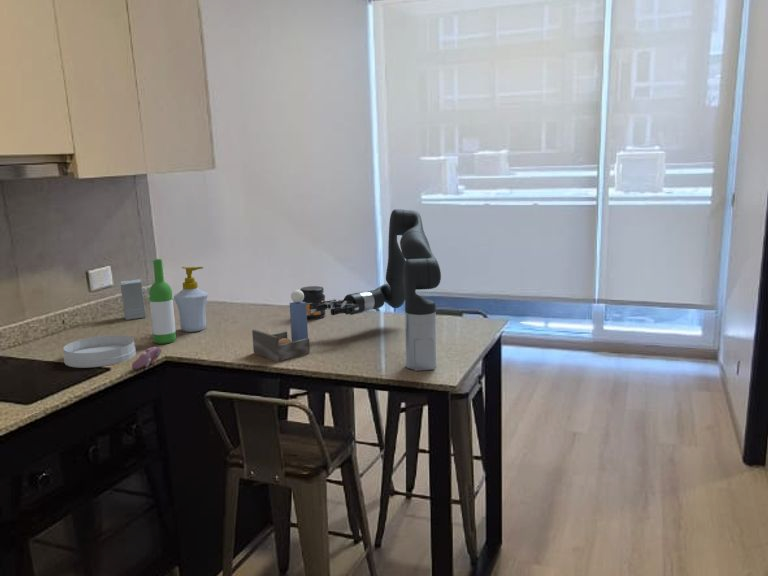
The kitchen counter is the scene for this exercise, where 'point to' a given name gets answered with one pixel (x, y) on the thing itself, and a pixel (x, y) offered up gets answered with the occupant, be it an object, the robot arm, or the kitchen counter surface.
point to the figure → (298, 316)
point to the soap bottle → (191, 304)
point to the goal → (278, 346)
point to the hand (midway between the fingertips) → (323, 310)
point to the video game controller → (147, 357)
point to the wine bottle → (161, 307)
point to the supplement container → (313, 301)
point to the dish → (99, 351)
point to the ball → (283, 341)
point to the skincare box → (133, 299)
